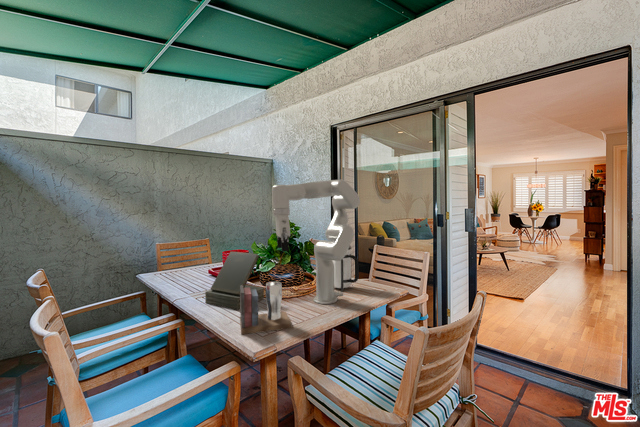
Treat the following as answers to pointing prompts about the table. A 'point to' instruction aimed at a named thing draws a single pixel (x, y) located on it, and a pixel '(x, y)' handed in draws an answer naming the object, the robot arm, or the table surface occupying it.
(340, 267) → the coffee press
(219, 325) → the table surface
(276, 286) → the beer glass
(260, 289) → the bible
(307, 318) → the table surface
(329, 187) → the robot arm
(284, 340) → the table surface
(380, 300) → the table surface
